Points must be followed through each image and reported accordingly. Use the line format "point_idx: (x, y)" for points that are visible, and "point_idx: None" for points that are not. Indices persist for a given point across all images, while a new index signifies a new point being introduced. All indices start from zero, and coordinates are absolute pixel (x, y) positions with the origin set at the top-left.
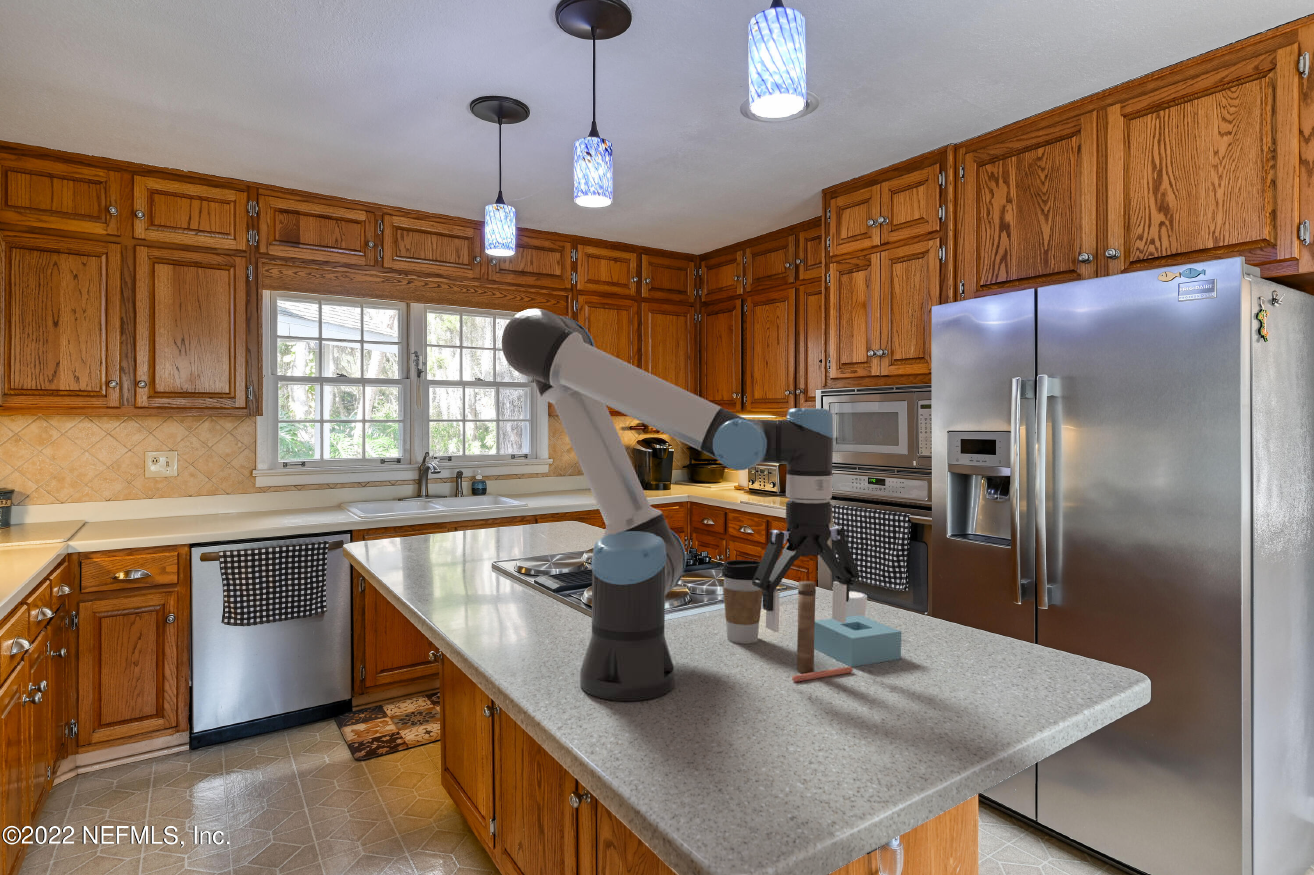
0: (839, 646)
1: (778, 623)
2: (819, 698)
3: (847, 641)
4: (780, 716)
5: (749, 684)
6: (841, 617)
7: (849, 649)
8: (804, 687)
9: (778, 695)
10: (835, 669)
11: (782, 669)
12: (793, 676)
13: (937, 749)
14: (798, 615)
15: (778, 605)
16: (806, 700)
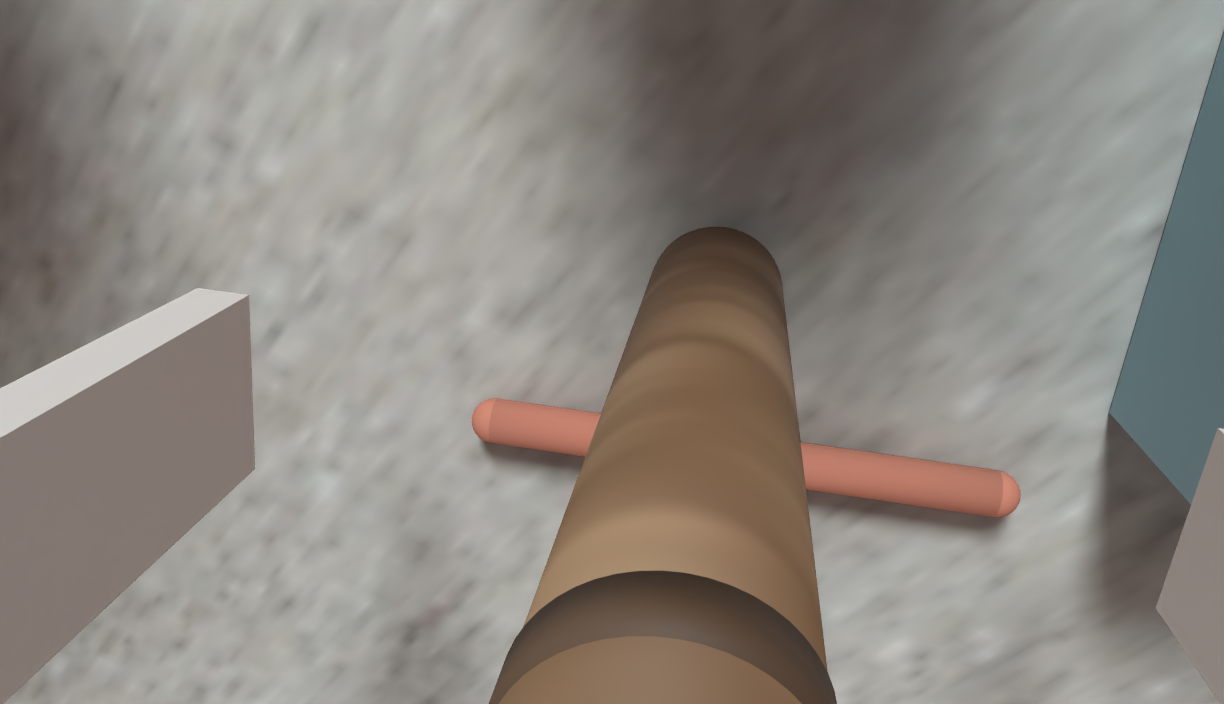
0: (1213, 298)
1: (201, 512)
2: (466, 659)
3: None
4: (135, 701)
5: (187, 290)
6: (1190, 634)
7: (1173, 446)
8: (495, 506)
9: (269, 514)
10: (850, 489)
11: (577, 175)
12: (474, 425)
13: None
14: (584, 462)
15: (49, 646)
16: (379, 641)
